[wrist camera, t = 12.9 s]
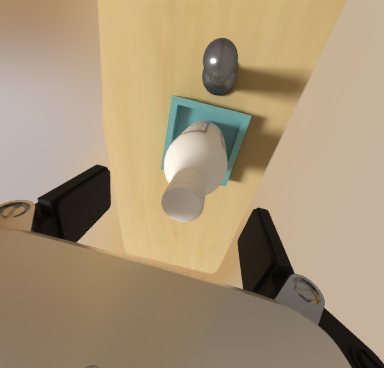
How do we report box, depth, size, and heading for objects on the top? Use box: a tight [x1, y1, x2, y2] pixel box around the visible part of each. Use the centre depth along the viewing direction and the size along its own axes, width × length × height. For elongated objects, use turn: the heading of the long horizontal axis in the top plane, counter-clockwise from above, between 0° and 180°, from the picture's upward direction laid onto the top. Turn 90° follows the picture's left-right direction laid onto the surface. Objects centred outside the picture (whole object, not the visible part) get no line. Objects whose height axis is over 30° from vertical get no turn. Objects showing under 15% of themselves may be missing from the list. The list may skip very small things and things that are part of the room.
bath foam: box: [162, 121, 228, 222], centre depth 20 cm, size 7×7×20 cm
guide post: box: [202, 38, 238, 95], centre depth 20 cm, size 5×5×12 cm
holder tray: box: [161, 96, 252, 186], centre depth 29 cm, size 12×12×3 cm
